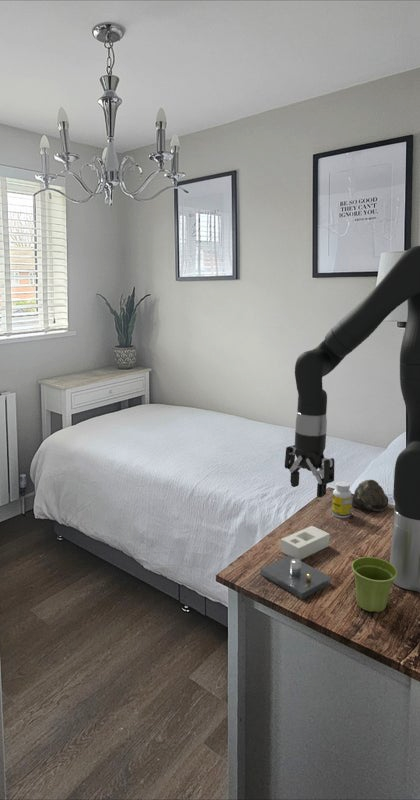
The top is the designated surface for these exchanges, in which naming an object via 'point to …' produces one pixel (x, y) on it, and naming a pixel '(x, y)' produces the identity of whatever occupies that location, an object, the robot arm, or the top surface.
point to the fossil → (370, 496)
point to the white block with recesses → (305, 542)
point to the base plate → (296, 576)
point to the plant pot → (373, 582)
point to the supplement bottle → (341, 500)
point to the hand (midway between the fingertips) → (307, 491)
